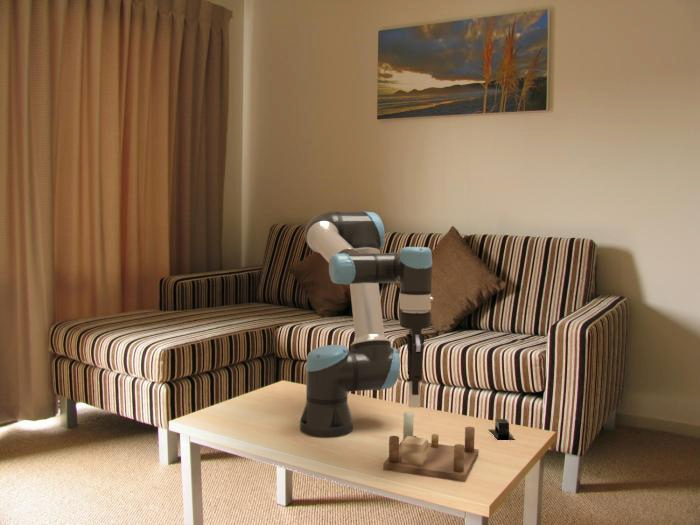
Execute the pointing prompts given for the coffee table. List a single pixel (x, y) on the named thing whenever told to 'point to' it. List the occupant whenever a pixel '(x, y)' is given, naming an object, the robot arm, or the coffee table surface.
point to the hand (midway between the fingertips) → (414, 406)
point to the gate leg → (408, 425)
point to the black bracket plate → (501, 430)
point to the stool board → (437, 458)
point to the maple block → (414, 450)
